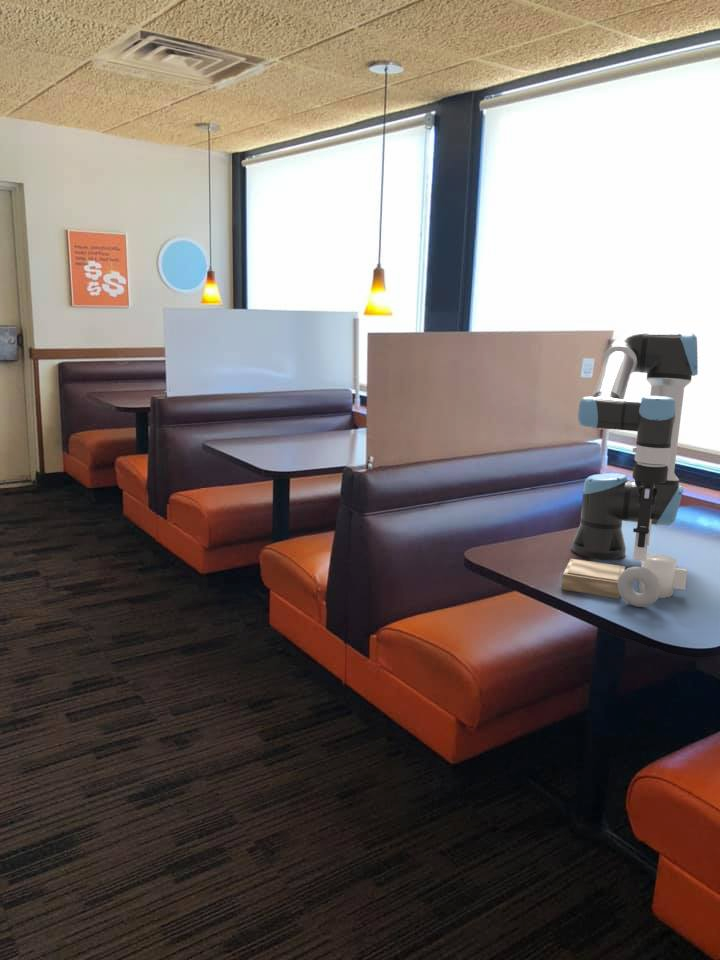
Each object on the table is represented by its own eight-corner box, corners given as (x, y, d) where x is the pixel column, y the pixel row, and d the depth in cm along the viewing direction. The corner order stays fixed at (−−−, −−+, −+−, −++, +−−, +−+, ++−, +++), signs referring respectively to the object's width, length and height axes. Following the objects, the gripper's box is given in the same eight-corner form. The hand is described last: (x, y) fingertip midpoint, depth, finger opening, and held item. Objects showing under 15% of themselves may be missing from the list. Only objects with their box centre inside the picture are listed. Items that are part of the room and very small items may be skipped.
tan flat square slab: (569, 572, 206) (570, 557, 205) (623, 580, 201) (625, 565, 200) (561, 589, 194) (562, 573, 193) (619, 598, 188) (620, 581, 187)
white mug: (639, 584, 199) (643, 551, 197) (684, 591, 194) (688, 557, 193) (637, 594, 191) (641, 560, 189) (684, 602, 187) (688, 567, 185)
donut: (613, 603, 185) (617, 564, 183) (617, 599, 188) (621, 560, 185) (656, 613, 179) (661, 573, 177) (659, 609, 182) (664, 569, 180)
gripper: (637, 454, 188) (628, 536, 193) (630, 471, 166) (620, 564, 170) (670, 457, 185) (660, 540, 190) (667, 475, 163) (655, 569, 167)
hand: (641, 552), depth 180 cm, fingers open, 13 cm apart
